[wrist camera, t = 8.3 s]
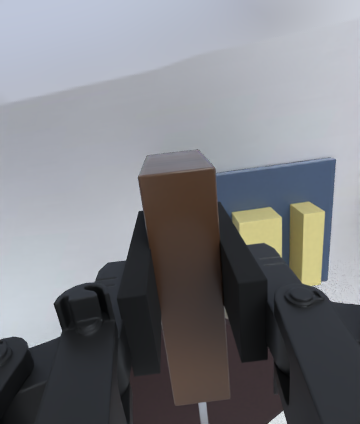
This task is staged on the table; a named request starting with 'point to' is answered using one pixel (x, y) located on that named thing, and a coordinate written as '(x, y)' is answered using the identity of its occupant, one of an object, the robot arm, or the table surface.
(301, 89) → the table surface
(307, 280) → the butter pat
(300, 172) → the butter dish
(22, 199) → the table surface
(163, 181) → the knife
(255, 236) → the butter block
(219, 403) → the book
